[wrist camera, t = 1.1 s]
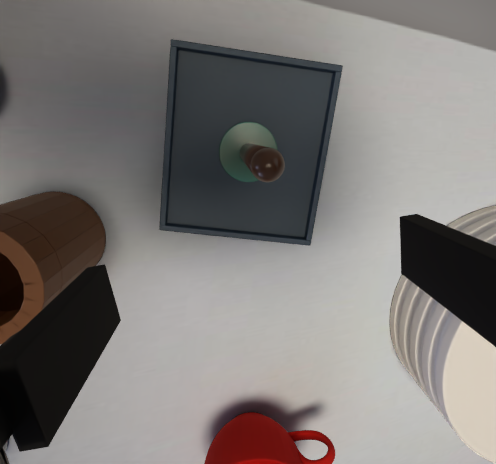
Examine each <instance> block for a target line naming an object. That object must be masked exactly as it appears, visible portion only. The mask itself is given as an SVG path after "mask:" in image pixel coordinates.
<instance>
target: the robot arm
mask: <svg viewBox="0 0 496 464" xmlns="http://www.w3.org/2000/svg"><path fill="white" fill-rule="evenodd" d="M400 238H401V274H402V275H404V276H405V277H406V278H407V279H409V280H410V281H411V282H413V283H414V284H415V285H416V286H418V287H419V288H420V289H422V290H423V291H424V292H425V293H427V294H428V295H429V296H431V297H432V298H433V299H434V300H436V301H437V302H438V303H440V304H441V305H442V306H443V307H445V308H446V309H447V310H449V311H450V312H451V313H452V314H454V315H455V316H456V317H458V318H459V319H460V320H461V321H463V322H464V323H465V324H467V325H468V326H469V327H470V328H472V329H473V330H474V331H476V332H477V333H478V334H479V335H481V336H482V337H483V338H485V339H486V340H487V341H488V342H490V343H491V344H492V345H494V346H495V347H496V246H495V245H493V244H490V243H488V242H485V241H483V240H480V239H478V238H475V237H473V236H470V235H468V234H465V233H463V232H460V231H458V230H455V229H453V228H450V227H448V226H445V225H443V224H440V223H438V222H435V221H433V220H430V219H428V218H425V217H423V216H420V215H418V214H414V215H408V216H402V217H400ZM120 321H121V319H120V316H119V312H118V309H117V305H116V302H115V298H114V295H113V291H112V288H111V284H110V281H109V277H108V274H107V270H106V266H105V265H99V266H93V267H87V268H86V269H85V270H84V271H83V272H82V273H81V274H80V275H79V276H78V277H77V278H76V279H75V280H73V281H72V282H71V283H70V284H69V285H68V286H67V287H66V288H65V289H64V290H63V291H62V292H61V293H60V294H59V295H57V296H56V297H55V298H54V299H53V300H52V301H51V302H50V303H49V304H48V305H47V306H46V307H45V308H44V309H43V310H42V311H40V312H39V313H38V314H37V315H36V316H35V317H34V318H33V319H32V320H31V321H30V322H29V323H28V324H27V325H26V326H24V327H23V328H22V329H21V330H20V331H18V332H17V333H15V334H14V335H12V336H10V337H9V338H8V339H7V340H6V341H5V342H4V343H3V344H2V345H1V346H0V464H9V461H8V458H7V456H6V453H5V451H4V449H3V446H4V445H5V443H6V442H7V441H8V439H9V438H10V436H11V435H13V437H14V439H15V442H16V444H17V446H18V449H19V451H26V450H32V449H38V448H43V447H48V446H49V444H50V442H51V441H52V439H53V437H54V435H55V434H56V432H57V430H58V429H59V427H60V425H61V423H62V422H63V420H64V418H65V416H66V415H67V413H68V411H69V409H70V408H71V406H72V404H73V402H74V401H75V399H76V397H77V396H78V394H79V392H80V390H81V389H82V387H83V385H84V383H85V382H86V380H87V378H88V376H89V375H90V373H91V371H92V369H93V368H94V366H95V364H96V362H97V361H98V359H99V357H100V356H101V354H102V352H103V350H104V349H105V347H106V345H107V343H108V342H109V340H110V338H111V336H112V335H113V333H114V331H115V329H116V328H117V326H118V324H119V323H120Z"/></svg>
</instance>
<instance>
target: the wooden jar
mask: <svg viewBox="0 0 496 464" xmlns="http://www.w3.org/2000/svg"><path fill="white" fill-rule="evenodd" d="M105 244H106V235H105V230H104V227H103V224H102V222H101V219H100V218H99V216H98V215H97V213H96V212H95V211H94V210H93V208H92V207H90V206H89V205H88V204H87V203H86V202H84V201H83V200H81V199H80V198H78V197H76V196H73V195H71V194H67V193H63V192H45V193H40V194H35V195H32V196H28V197H25V198H22V199H18V200H15V201H11V202H8V203H5V204H1V205H0V344H3V343H4V342H5V341H6V340H7V339H8V338H9V337H10V336H12V335H14V334H15V333H17V332H18V331H20V330H21V329H22V328H23V327H24V326H26V325H27V324H28V323H29V322H30V321H31V320H32V319H33V318H34V317H35V316H36V315H37V314H38V313H39V312H40V311H42V310H43V309H44V308H45V307H46V306H47V305H48V304H49V303H50V302H51V301H52V300H53V299H54V298H55V297H56V296H57V295H59V294H60V293H61V292H62V291H63V290H64V289H65V288H66V287H67V286H68V285H69V284H70V283H71V282H72V281H73V280H75V279H76V278H77V277H78V276H79V275H80V274H81V273H82V272H83V271H84V270H85V269H86V268H87V267H93V266H95V265H96V264H97V263H98V262H99V260H100V259H101V257H102V255H103V252H104V249H105Z"/></svg>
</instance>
